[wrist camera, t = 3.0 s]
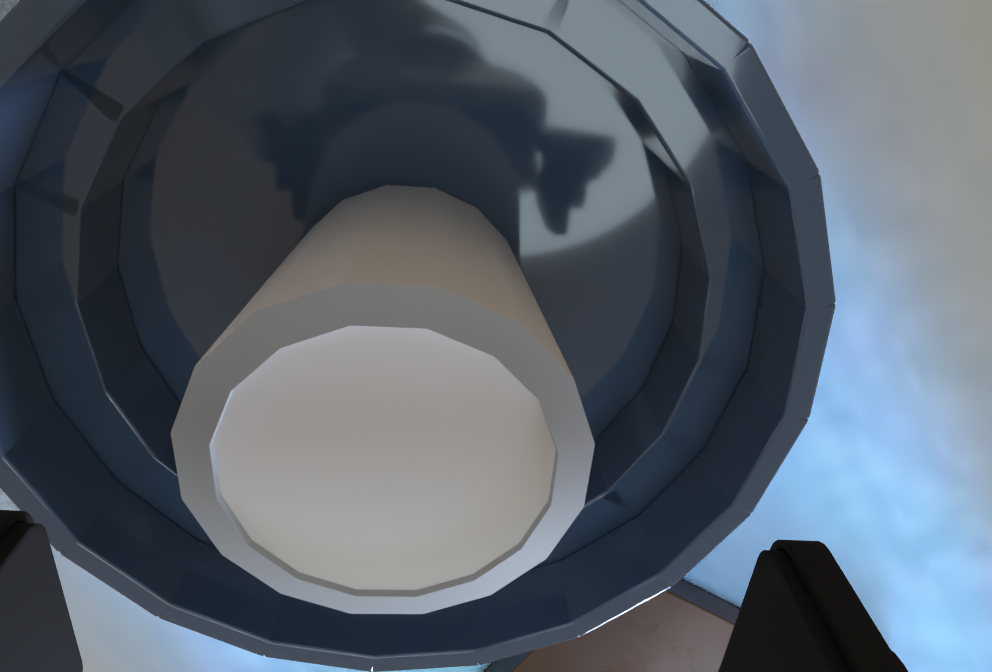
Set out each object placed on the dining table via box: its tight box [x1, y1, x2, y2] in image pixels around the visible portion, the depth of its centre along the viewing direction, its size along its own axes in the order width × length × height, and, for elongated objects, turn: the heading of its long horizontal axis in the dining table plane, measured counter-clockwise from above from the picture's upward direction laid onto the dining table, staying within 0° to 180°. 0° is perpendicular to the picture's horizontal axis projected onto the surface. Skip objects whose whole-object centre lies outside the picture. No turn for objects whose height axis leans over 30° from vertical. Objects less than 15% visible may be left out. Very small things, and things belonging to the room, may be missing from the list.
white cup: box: [171, 185, 595, 614], centre depth 15 cm, size 7×7×7 cm
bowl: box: [0, 0, 835, 672], centre depth 16 cm, size 17×17×4 cm
